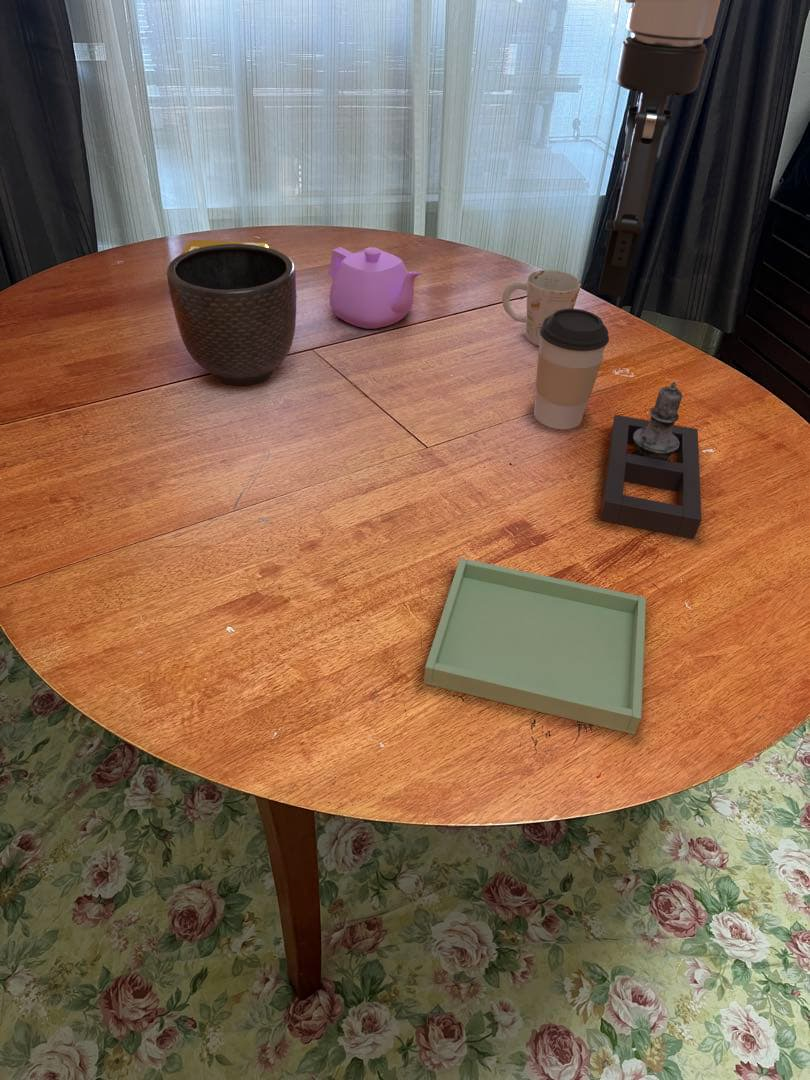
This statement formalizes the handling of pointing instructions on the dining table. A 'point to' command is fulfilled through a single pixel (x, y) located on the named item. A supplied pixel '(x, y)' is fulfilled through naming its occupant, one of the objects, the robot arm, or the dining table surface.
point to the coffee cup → (568, 366)
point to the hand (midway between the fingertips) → (614, 270)
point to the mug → (543, 298)
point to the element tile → (204, 243)
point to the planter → (235, 309)
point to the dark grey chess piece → (660, 426)
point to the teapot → (370, 287)
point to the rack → (652, 482)
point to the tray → (542, 645)
